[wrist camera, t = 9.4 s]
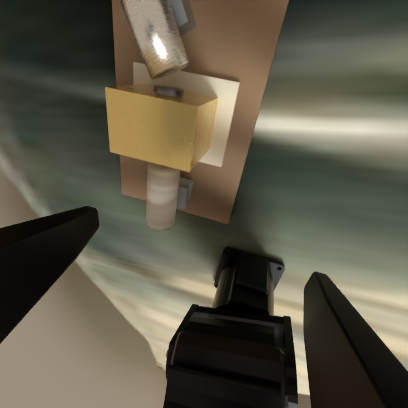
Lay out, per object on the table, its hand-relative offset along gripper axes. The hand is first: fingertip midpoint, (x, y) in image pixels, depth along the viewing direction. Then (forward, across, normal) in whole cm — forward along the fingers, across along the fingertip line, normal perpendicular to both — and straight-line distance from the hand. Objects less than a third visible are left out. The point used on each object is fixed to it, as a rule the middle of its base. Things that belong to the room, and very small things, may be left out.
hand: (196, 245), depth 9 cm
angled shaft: (+10, +6, -8) cm, 14 cm away
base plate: (+12, +5, -3) cm, 13 cm away
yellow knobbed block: (+10, +5, -3) cm, 11 cm away
